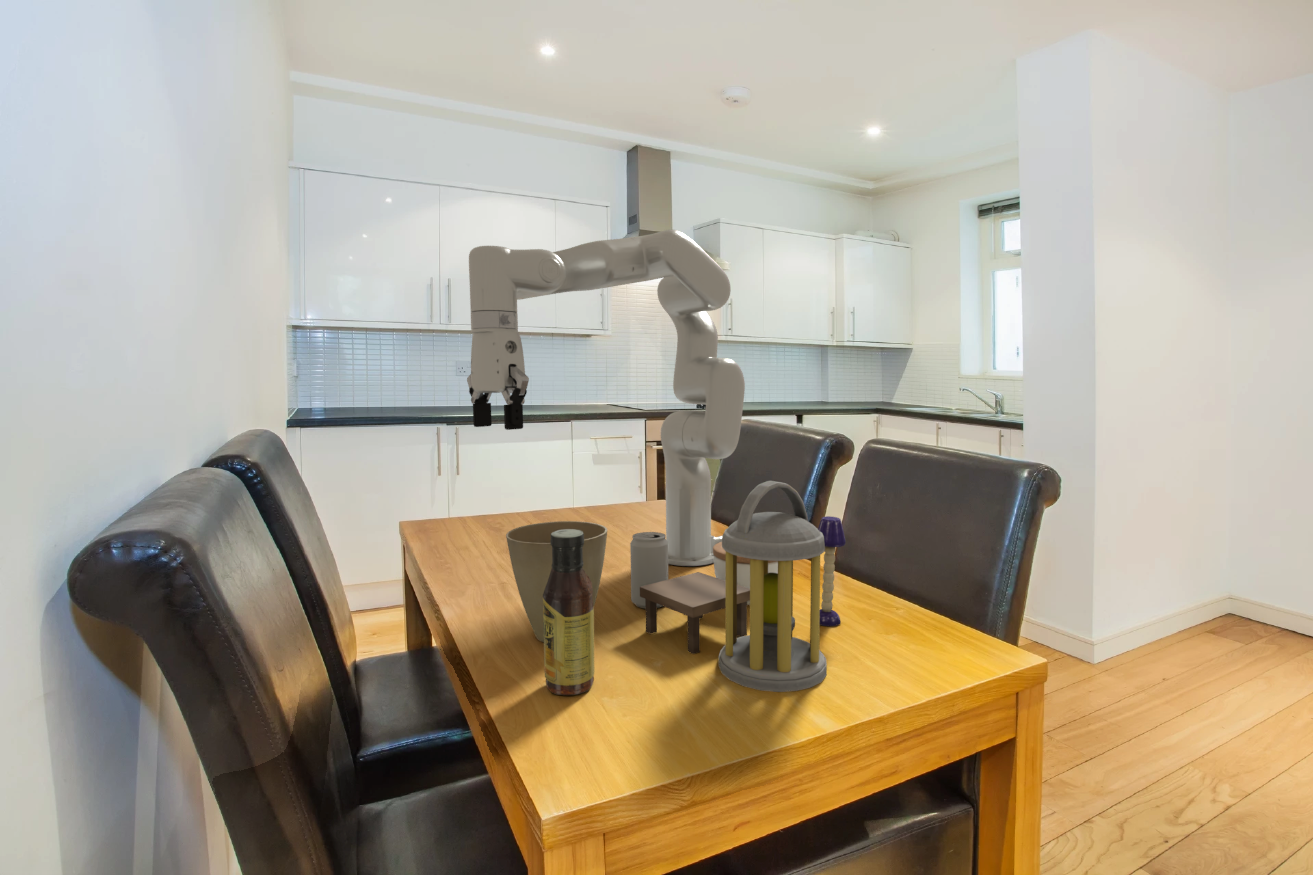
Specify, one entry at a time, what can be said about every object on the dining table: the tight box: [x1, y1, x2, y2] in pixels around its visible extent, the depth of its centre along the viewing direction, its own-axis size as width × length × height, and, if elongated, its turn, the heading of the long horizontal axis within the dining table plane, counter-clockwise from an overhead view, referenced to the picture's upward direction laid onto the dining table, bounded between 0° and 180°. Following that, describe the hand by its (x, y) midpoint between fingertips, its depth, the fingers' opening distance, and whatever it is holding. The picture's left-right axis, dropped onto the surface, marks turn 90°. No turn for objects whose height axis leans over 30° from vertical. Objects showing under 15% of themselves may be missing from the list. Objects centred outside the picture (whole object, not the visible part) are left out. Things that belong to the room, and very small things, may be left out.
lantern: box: [718, 480, 828, 693], centre depth 88 cm, size 14×14×25 cm
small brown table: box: [640, 571, 750, 655], centre depth 101 cm, size 12×12×7 cm
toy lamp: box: [817, 515, 846, 627], centre depth 105 cm, size 5×5×17 cm
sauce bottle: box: [543, 529, 595, 696], centre depth 83 cm, size 6×6×20 cm
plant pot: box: [505, 520, 608, 643], centre depth 101 cm, size 15×15×16 cm
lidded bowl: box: [713, 542, 778, 606], centre depth 117 cm, size 13×13×11 cm
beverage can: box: [629, 531, 669, 609], centre depth 114 cm, size 6×6×12 cm
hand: (497, 427), depth 112 cm, fingers open, 9 cm apart
